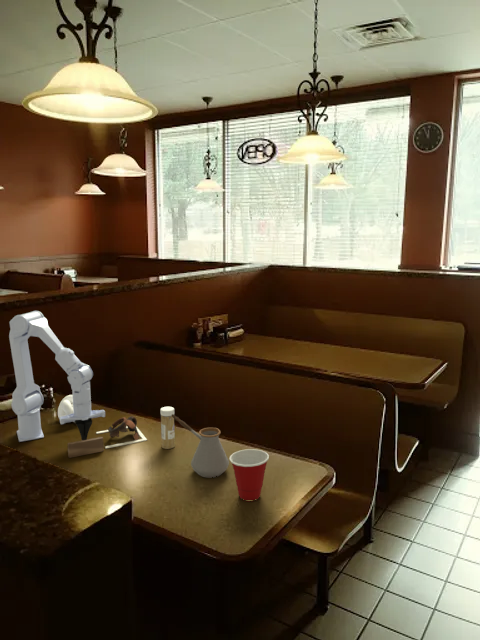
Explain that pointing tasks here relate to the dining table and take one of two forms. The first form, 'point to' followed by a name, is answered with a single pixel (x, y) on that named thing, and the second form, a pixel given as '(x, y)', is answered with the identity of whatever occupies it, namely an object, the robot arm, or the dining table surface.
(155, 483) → the dining table surface
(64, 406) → the white knot
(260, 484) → the plastic cup
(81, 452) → the walnut screen
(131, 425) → the brown curved piece
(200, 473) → the coffee pot
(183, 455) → the dining table surface
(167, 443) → the sprinkles bottle
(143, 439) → the bay outline
